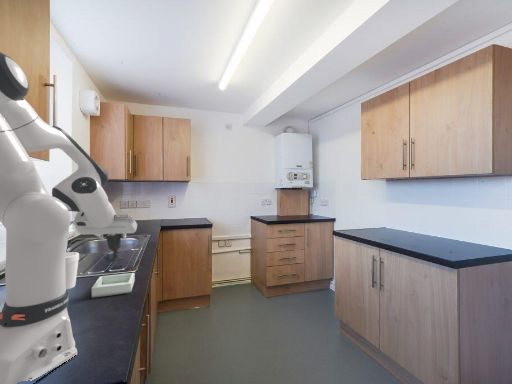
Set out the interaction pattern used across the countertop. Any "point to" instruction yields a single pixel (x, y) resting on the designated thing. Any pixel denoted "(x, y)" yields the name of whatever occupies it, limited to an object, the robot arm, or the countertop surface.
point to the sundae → (114, 244)
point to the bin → (113, 285)
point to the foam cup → (71, 269)
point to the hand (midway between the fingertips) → (113, 237)
